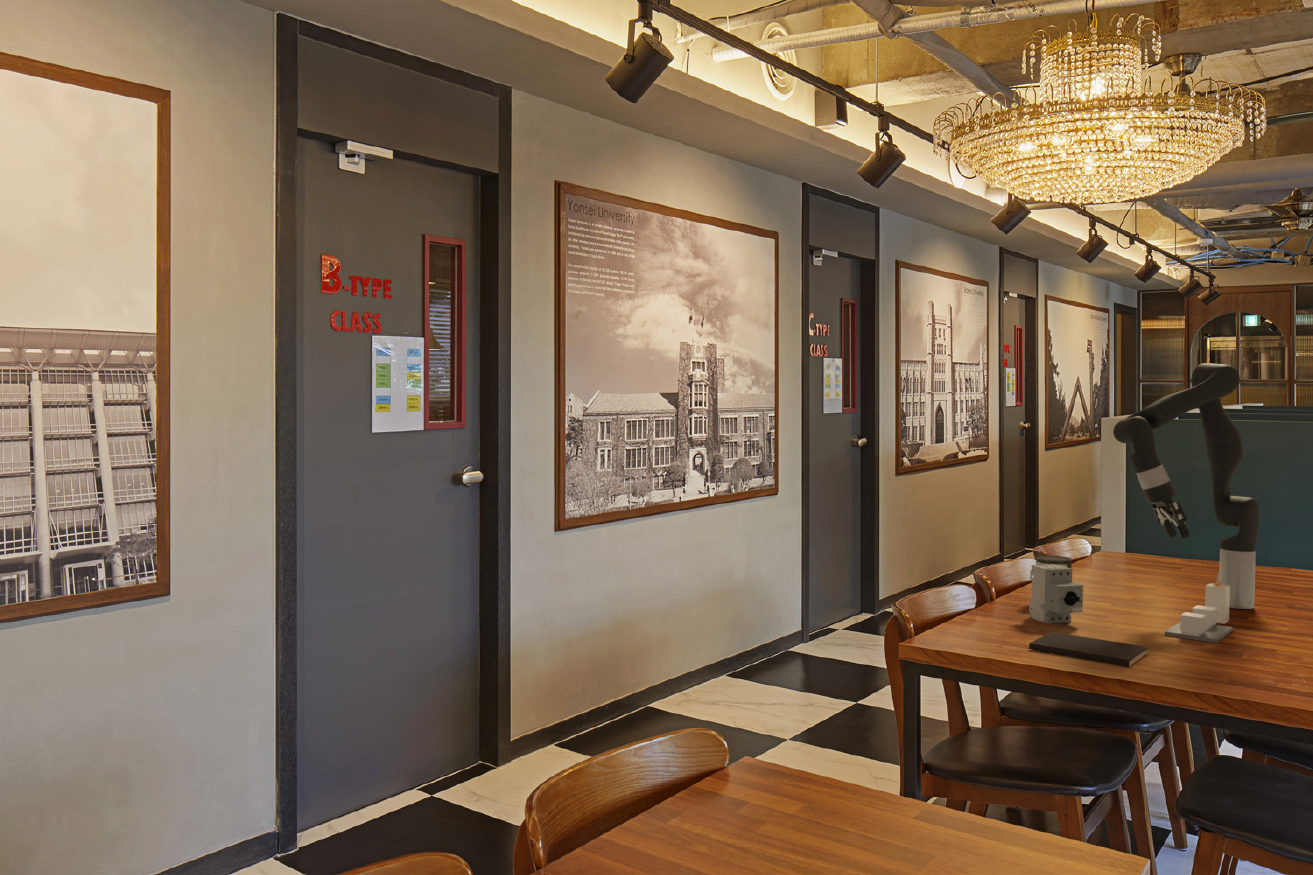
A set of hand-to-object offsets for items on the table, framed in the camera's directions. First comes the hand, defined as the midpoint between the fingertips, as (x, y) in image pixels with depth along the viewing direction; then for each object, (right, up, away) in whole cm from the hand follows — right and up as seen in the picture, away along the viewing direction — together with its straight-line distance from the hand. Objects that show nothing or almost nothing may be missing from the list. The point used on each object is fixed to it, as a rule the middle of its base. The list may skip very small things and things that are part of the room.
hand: (1179, 536), depth 272 cm
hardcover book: (-42, -25, -36) cm, 61 cm away
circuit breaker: (-36, -24, -4) cm, 43 cm away
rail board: (-3, -24, -16) cm, 29 cm away
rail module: (+10, -24, -1) cm, 26 cm away
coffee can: (-27, -23, +20) cm, 41 cm away
